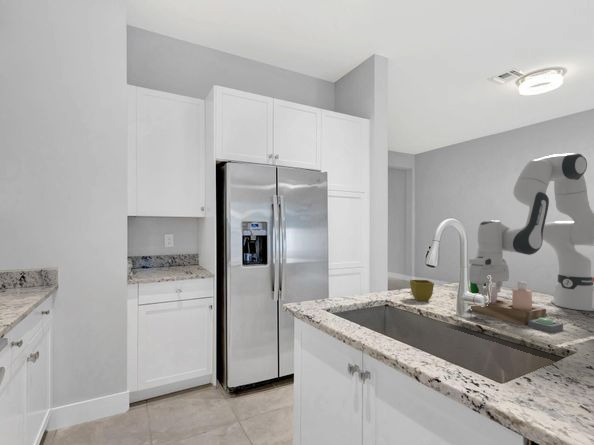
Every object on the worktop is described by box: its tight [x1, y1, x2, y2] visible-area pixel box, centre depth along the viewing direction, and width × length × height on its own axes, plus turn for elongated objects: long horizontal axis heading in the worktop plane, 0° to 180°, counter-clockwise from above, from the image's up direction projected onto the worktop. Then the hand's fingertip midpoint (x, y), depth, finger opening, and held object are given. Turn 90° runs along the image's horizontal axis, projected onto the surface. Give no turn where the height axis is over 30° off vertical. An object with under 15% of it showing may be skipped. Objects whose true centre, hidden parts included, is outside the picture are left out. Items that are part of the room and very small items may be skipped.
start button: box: [538, 317, 554, 325], centre depth 111 cm, size 4×4×4 cm
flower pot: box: [409, 279, 435, 302], centre depth 157 cm, size 9×9×9 cm
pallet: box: [471, 298, 547, 326], centre depth 127 cm, size 13×22×6 cm, turn 25°
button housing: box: [527, 319, 564, 333], centre depth 111 cm, size 7×7×3 cm
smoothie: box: [483, 286, 499, 303], centre depth 133 cm, size 6×6×14 cm
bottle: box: [511, 281, 533, 311], centre depth 121 cm, size 6×6×14 cm
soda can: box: [469, 281, 486, 293], centre depth 157 cm, size 8×8×12 cm
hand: (489, 293), depth 133 cm, fingers open, 8 cm apart
